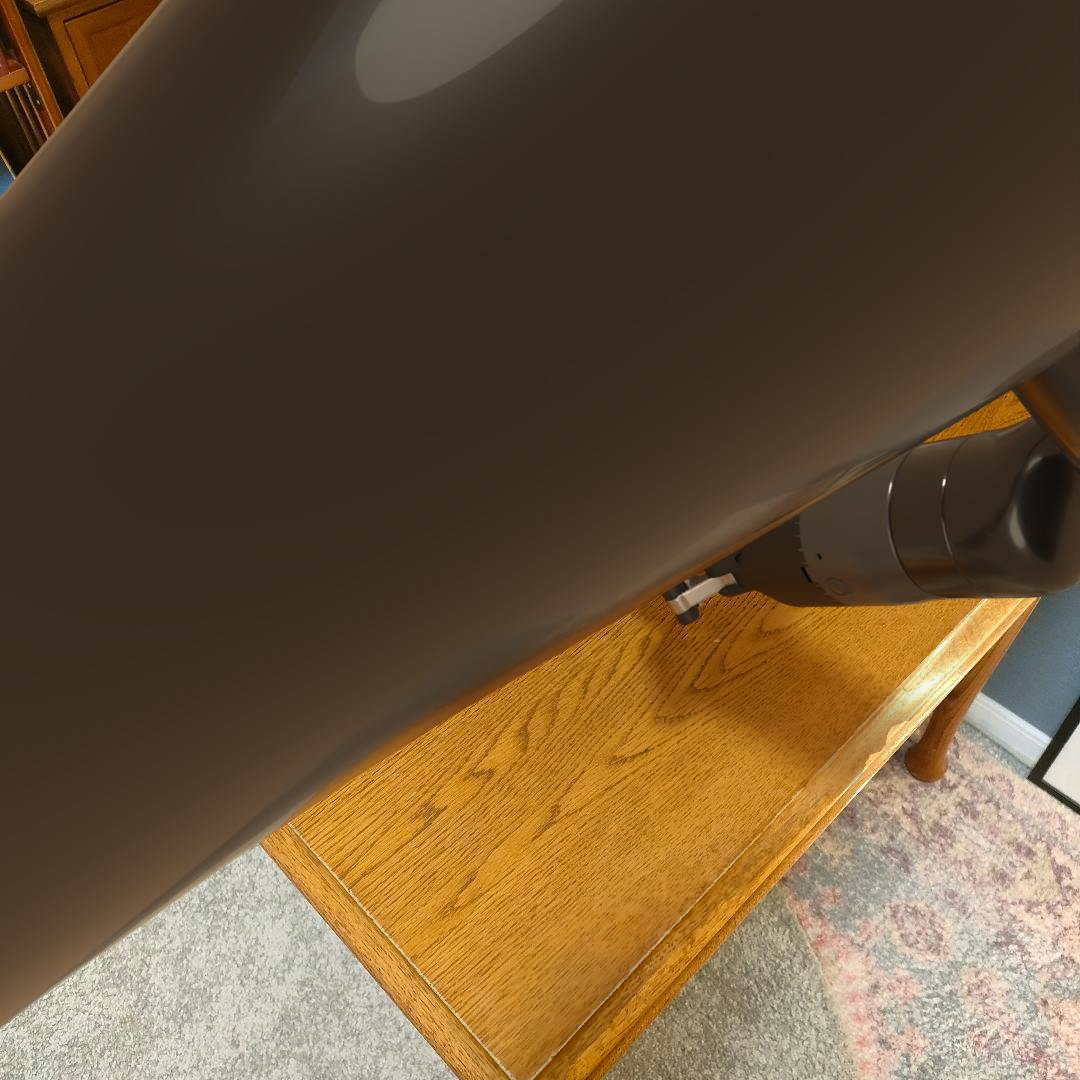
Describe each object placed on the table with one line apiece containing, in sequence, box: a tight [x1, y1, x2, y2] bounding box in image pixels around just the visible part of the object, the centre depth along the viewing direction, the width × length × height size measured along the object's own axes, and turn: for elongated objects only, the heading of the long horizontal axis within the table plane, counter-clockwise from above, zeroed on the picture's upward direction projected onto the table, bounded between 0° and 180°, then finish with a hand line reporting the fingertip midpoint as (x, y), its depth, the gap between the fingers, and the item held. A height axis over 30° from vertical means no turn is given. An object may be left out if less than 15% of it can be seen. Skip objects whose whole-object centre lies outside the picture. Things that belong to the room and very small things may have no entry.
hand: (647, 550), depth 61 cm, fingers closed
